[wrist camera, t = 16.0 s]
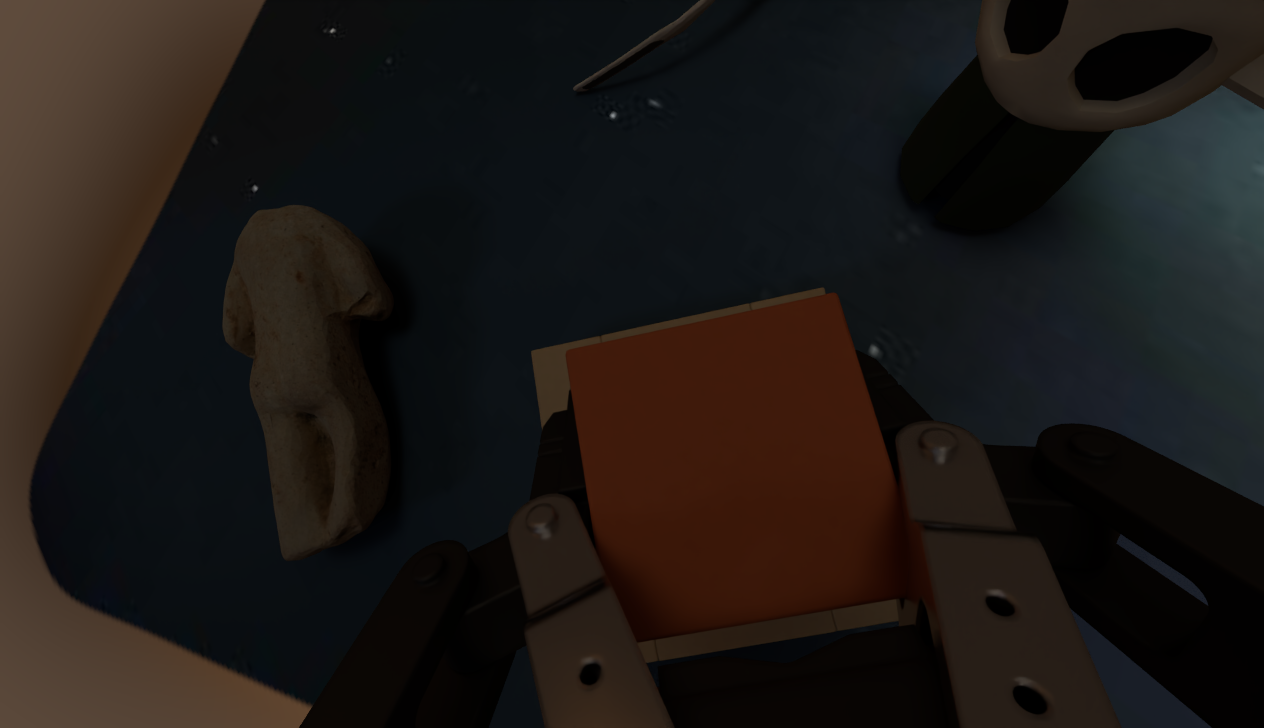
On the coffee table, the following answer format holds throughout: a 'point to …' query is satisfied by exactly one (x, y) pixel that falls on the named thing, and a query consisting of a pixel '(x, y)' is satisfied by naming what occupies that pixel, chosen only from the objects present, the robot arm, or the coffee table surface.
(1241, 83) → the character mug
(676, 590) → the post
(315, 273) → the sculpture
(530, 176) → the coffee table surface
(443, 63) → the coffee table surface
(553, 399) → the base pad
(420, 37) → the coffee table surface
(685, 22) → the sunglasses
